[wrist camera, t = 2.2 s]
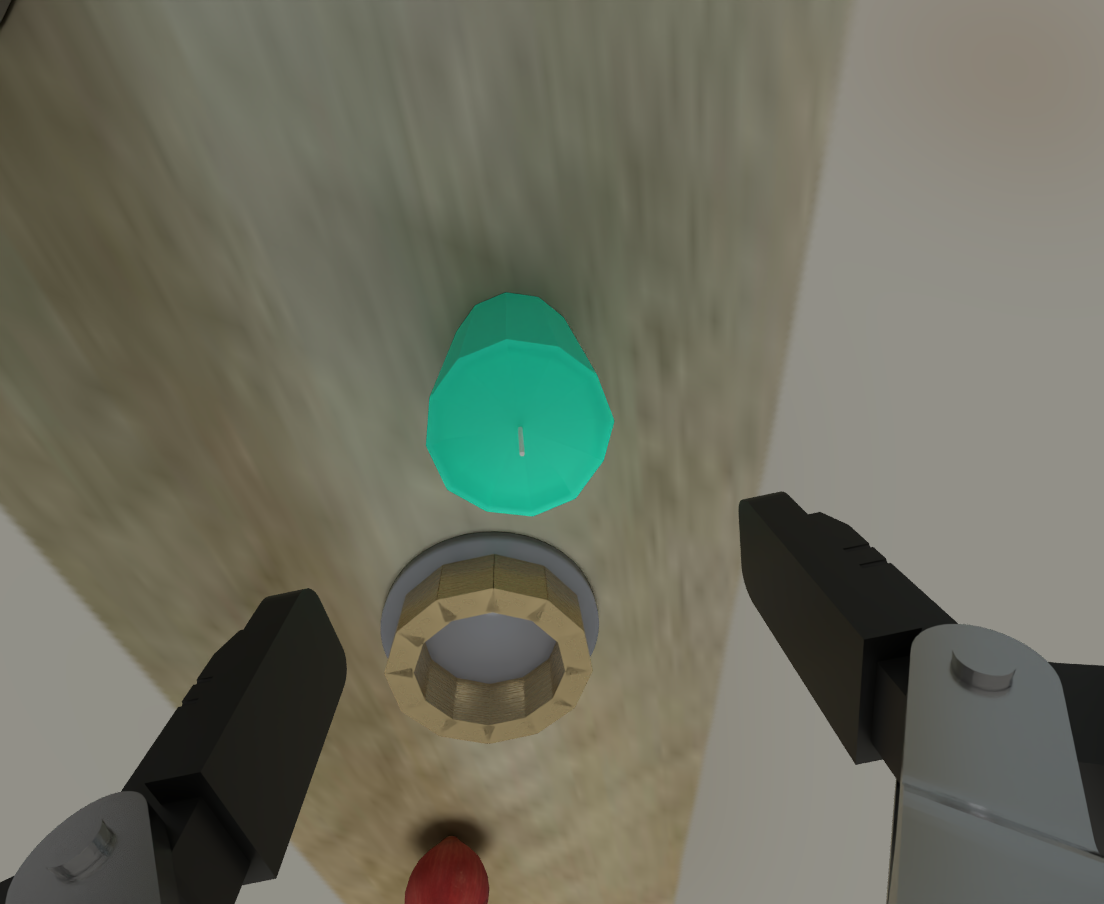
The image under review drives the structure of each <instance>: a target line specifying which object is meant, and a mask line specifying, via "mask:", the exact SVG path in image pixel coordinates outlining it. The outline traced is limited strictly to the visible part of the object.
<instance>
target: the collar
mask: <svg viewBox="0 0 1104 904" xmlns="http://www.w3.org/2000/svg"><path fill="white" fill-rule="evenodd" d="M492 612H493V613H497V614H502V615H507V616H512V617H516V618H521V619H526V620H530V621H533V622H534V623H535V624H536V625H537V626H539V627H540V628H541V629H542V630H543V631H545V632H546V633H547V634H548V635H549V636H551V637H552V638H553V639H554V640H555V641H556V643H555V646H554V648H553V650H552V653H551V655H550V657H549V659H548V660H546V661H545V662H544V663H542V664H541V665H539V666H538V667H537V668H535V669H534V670H532V671H531V672H530V673H528V674H527V675H525V676H524V677H521V678H516V679H512V680H507V681H502V682H497V683H492V684H488V683H482V682H477V681H471V680H466V679H460V678H457V677H455V676H454V675H452V674H451V673H450V672H448V671H447V670H445V669H444V668H443V667H441V666H440V665H438V664H437V663H436V662H434V661H433V660H432V659H431V656H430V654H429V651H428V649H427V646H426V643H425V642H426V641H427V640H428V639H430V638H431V637H432V636H433V635H435V634H436V633H437V632H439V631H440V630H441V629H442V628H444V627H445V626H446V625H448V624H449V623H450V622H451V621H454V620H459V619H464V618H468V617H473V616H478V615H483V614H488V613H492ZM592 672H593V670H592V665H591V659H590V654H589V649H588V644H587V639H586V634H585V629H584V624H583V620H582V615H581V611H580V606H579V601H578V597H577V595H576V594H575V593H574V592H573V591H572V590H571V589H570V588H569V587H567V586H566V585H565V584H564V583H563V582H562V581H561V580H560V579H559V578H557V577H556V576H555V575H554V574H553V573H552V572H551V571H550V570H549V569H547V568H546V567H545V566H544V565H539V564H535V563H531V562H527V561H522V560H518V559H514V558H510V557H506V556H501V555H497V554H495V555H494V554H491V555H487V556H482V557H477V558H472V559H467V560H463V561H458V562H453V563H448V564H444V565H442V566H441V567H439V568H438V569H437V570H436V571H434V572H433V573H432V574H431V575H429V576H428V577H427V578H426V579H425V580H423V581H422V582H421V583H420V584H418V585H417V586H416V587H415V588H414V589H412V590H411V591H410V592H409V593H407V594H406V597H405V600H404V603H403V607H402V610H401V614H400V617H399V621H398V624H397V627H396V631H395V635H394V638H393V642H392V646H391V650H390V654H389V657H388V661H387V665H386V669H385V673H384V674H385V676H386V678H387V681H388V683H389V685H390V687H391V689H392V692H393V694H394V696H395V698H396V701H397V703H398V705H399V707H400V710H401V711H402V712H403V713H405V714H406V715H408V716H409V717H411V718H412V719H414V720H416V721H417V722H419V723H420V724H422V725H423V726H425V727H426V728H428V729H429V730H431V731H432V732H434V733H435V734H437V735H438V736H442V737H448V738H454V739H460V740H467V741H473V742H479V743H485V744H488V743H489V744H491V743H495V742H500V741H505V740H510V739H515V738H519V737H524V736H529V735H534V734H537V733H539V732H540V731H542V730H543V729H545V728H546V727H548V726H549V725H551V724H552V723H553V722H555V721H556V720H558V719H559V718H561V717H562V716H564V715H565V714H567V713H568V712H570V711H571V710H572V709H574V707H576V704H577V702H578V700H579V698H580V696H581V694H582V692H583V690H584V688H585V686H586V684H587V682H588V680H589V678H590V676H591V674H592Z"/></svg>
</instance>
